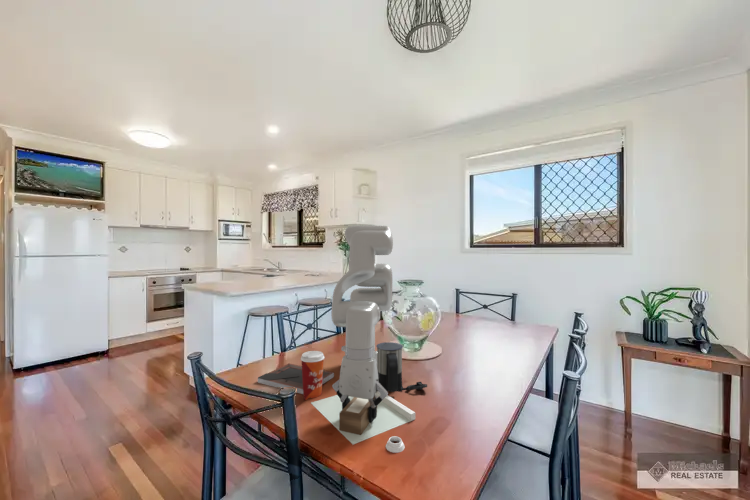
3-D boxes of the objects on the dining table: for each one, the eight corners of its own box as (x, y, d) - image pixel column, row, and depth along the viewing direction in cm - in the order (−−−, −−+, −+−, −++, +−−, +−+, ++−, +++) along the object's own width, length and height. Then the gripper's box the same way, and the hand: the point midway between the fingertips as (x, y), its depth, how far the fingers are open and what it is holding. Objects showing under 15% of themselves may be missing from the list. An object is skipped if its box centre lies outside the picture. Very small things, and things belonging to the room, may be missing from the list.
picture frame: (257, 384, 113) (305, 396, 104) (257, 377, 113) (305, 389, 104) (289, 368, 128) (333, 378, 118) (289, 362, 128) (333, 371, 118)
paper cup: (313, 405, 97) (313, 359, 97) (295, 399, 101) (295, 355, 101) (329, 395, 103) (329, 352, 103) (312, 389, 107) (312, 348, 107)
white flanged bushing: (388, 443, 78) (381, 456, 73) (388, 431, 78) (381, 443, 73) (408, 448, 76) (402, 461, 71) (408, 436, 76) (402, 448, 71)
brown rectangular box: (357, 408, 92) (357, 392, 92) (377, 412, 90) (377, 395, 90) (339, 430, 81) (339, 412, 81) (360, 435, 79) (361, 416, 79)
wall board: (365, 390, 107) (365, 374, 107) (415, 423, 87) (415, 404, 87) (310, 406, 96) (310, 389, 96) (352, 449, 75) (352, 427, 75)
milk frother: (371, 385, 111) (372, 343, 111) (411, 378, 117) (411, 338, 117) (389, 403, 98) (389, 355, 98) (432, 394, 104) (432, 349, 104)
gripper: (324, 352, 85) (324, 418, 85) (385, 360, 79) (385, 431, 79) (337, 344, 92) (336, 405, 92) (394, 351, 86) (393, 416, 86)
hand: (359, 417), depth 86 cm, fingers open, 6 cm apart
